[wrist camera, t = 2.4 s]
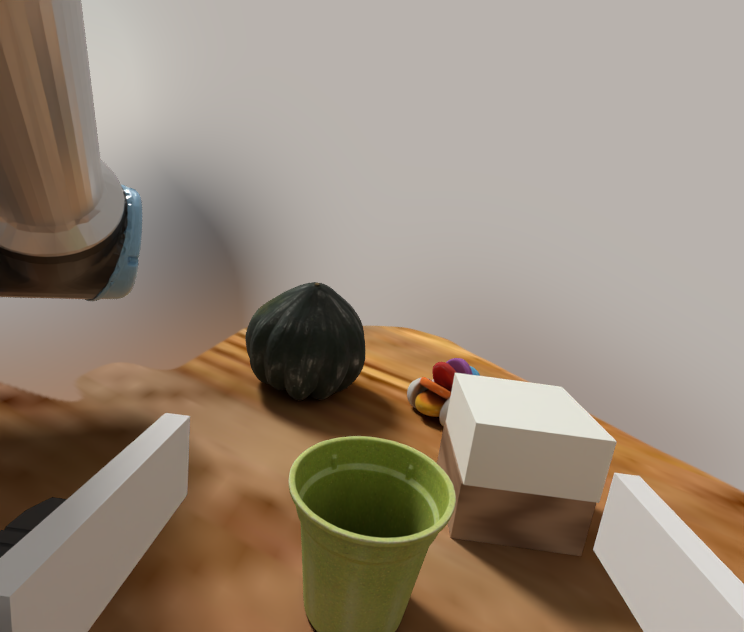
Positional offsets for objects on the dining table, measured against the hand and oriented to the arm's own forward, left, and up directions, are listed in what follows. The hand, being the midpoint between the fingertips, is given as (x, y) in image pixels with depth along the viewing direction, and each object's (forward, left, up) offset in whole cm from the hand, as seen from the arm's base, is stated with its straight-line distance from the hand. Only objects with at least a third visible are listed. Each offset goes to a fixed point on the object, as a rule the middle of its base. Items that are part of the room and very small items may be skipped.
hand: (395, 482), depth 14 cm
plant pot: (0, +10, -15) cm, 18 cm away
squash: (-9, +41, -15) cm, 45 cm away
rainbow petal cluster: (+9, +39, -16) cm, 43 cm away
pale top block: (+12, +22, -11) cm, 27 cm away
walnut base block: (+12, +22, -15) cm, 29 cm away
